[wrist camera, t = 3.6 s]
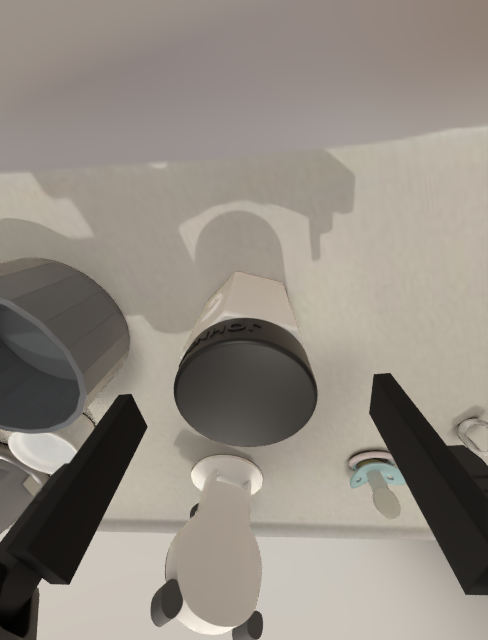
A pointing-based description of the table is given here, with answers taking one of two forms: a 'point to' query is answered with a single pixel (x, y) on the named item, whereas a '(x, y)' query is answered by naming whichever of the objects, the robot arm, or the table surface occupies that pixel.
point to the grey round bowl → (54, 344)
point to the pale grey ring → (467, 440)
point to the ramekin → (50, 445)
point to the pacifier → (378, 480)
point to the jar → (246, 367)
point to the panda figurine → (215, 555)
